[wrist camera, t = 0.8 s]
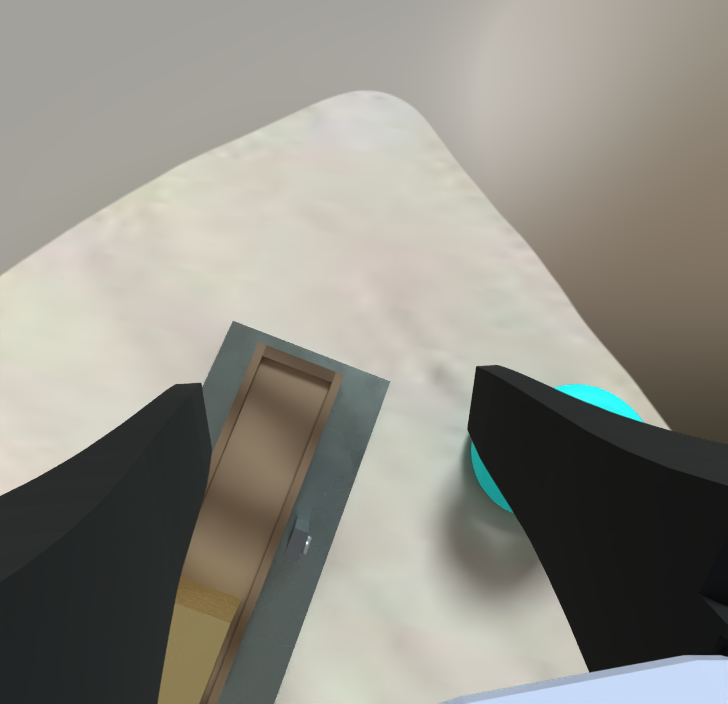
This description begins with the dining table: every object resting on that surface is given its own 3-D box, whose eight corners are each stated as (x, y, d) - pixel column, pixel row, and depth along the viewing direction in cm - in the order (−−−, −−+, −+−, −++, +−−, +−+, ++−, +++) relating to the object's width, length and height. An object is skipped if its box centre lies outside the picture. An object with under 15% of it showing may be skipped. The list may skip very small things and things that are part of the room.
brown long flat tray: (217, 703, 29) (208, 727, 27) (128, 671, 29) (112, 693, 27) (343, 376, 32) (344, 374, 30) (263, 345, 32) (258, 341, 30)
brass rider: (205, 690, 28) (190, 726, 25) (142, 667, 28) (118, 700, 25) (241, 599, 28) (230, 623, 25) (179, 576, 28) (161, 597, 25)
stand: (263, 727, 31) (253, 783, 26) (80, 661, 30) (35, 705, 26) (388, 382, 37) (398, 375, 32) (235, 323, 36) (222, 306, 31)
